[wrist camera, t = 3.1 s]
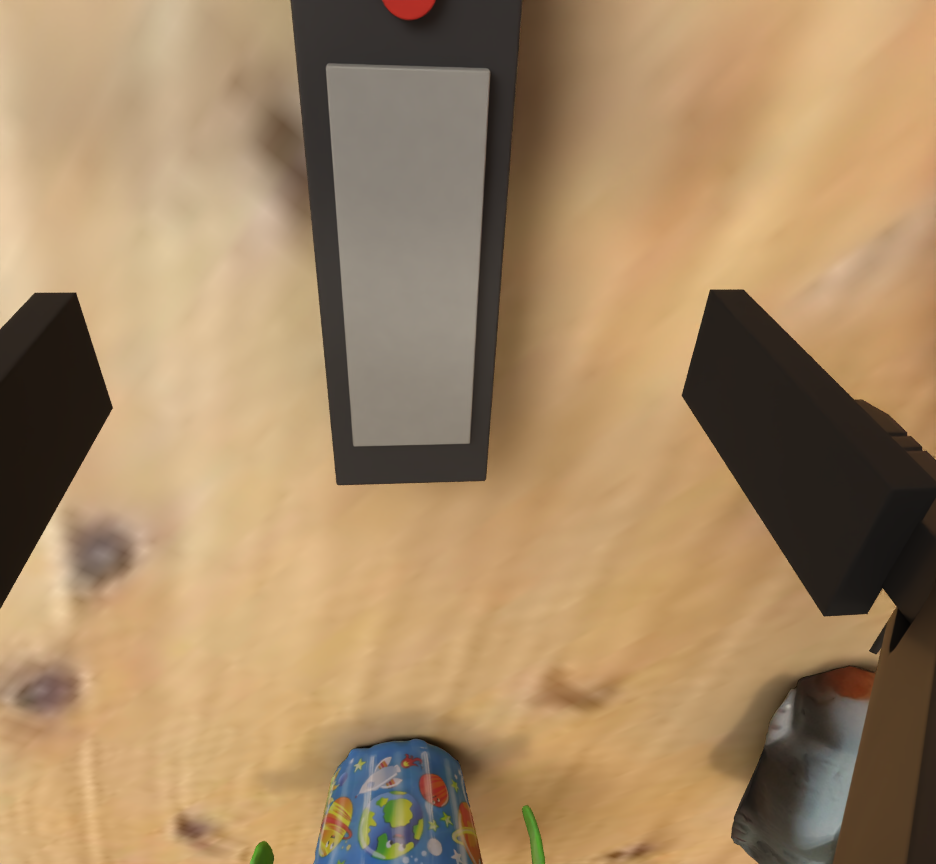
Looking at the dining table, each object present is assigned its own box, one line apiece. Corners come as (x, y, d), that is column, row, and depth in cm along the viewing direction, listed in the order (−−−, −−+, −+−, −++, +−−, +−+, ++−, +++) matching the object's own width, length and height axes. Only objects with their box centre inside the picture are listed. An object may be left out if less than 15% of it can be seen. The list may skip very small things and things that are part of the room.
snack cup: (276, 820, 43) (251, 1029, 35) (244, 730, 37) (204, 959, 29) (522, 797, 44) (552, 994, 36) (531, 706, 38) (571, 919, 30)
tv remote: (477, 434, 26) (487, 489, 24) (340, 437, 26) (335, 494, 23) (514, -141, 16) (537, -152, 14) (290, -155, 16) (271, -169, 13)
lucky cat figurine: (804, 642, 37) (1131, 870, 27) (889, 618, 44) (1168, 788, 34) (691, 849, 41) (937, 1113, 31) (787, 795, 48) (1008, 992, 38)
